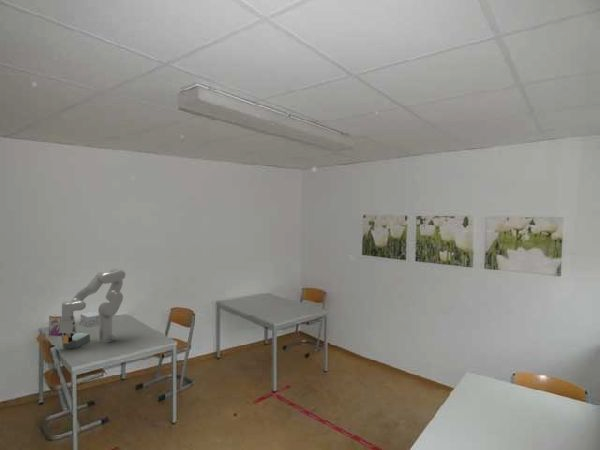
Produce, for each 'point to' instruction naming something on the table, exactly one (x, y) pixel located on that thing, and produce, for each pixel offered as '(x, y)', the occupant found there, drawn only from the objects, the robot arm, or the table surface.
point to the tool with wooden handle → (74, 337)
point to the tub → (77, 342)
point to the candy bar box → (54, 324)
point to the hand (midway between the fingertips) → (67, 341)
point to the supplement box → (90, 319)
